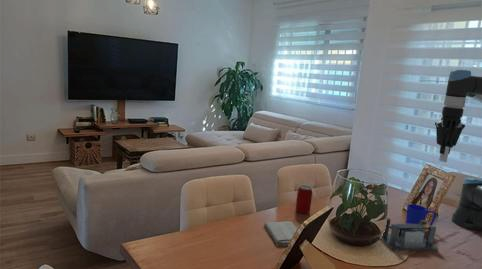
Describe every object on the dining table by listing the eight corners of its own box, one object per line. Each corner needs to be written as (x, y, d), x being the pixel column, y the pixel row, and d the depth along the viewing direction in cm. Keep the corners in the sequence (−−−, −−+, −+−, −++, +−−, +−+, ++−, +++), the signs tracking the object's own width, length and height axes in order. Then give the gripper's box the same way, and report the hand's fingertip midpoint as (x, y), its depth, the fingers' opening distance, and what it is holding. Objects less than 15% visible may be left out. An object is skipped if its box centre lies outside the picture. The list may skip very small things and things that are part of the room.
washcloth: (277, 247, 131) (278, 240, 130) (262, 226, 148) (263, 219, 147) (306, 246, 134) (307, 239, 133) (289, 225, 151) (289, 219, 150)
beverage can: (311, 211, 168) (315, 187, 166) (306, 215, 162) (309, 190, 160) (298, 207, 171) (301, 184, 169) (293, 211, 166) (296, 187, 164)
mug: (435, 235, 154) (439, 213, 152) (406, 230, 156) (410, 209, 154) (429, 227, 162) (433, 206, 160) (401, 223, 164) (405, 202, 162)
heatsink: (418, 236, 151) (421, 216, 149) (437, 250, 139) (442, 229, 138) (375, 235, 148) (378, 215, 146) (391, 250, 136) (395, 228, 134)
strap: (427, 225, 146) (427, 222, 146) (433, 230, 142) (434, 227, 142) (386, 225, 143) (386, 222, 143) (391, 230, 139) (392, 227, 139)
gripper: (460, 107, 152) (449, 159, 156) (433, 104, 150) (423, 158, 154) (474, 109, 145) (462, 164, 149) (446, 106, 143) (435, 162, 147)
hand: (442, 161), depth 152 cm, fingers closed
